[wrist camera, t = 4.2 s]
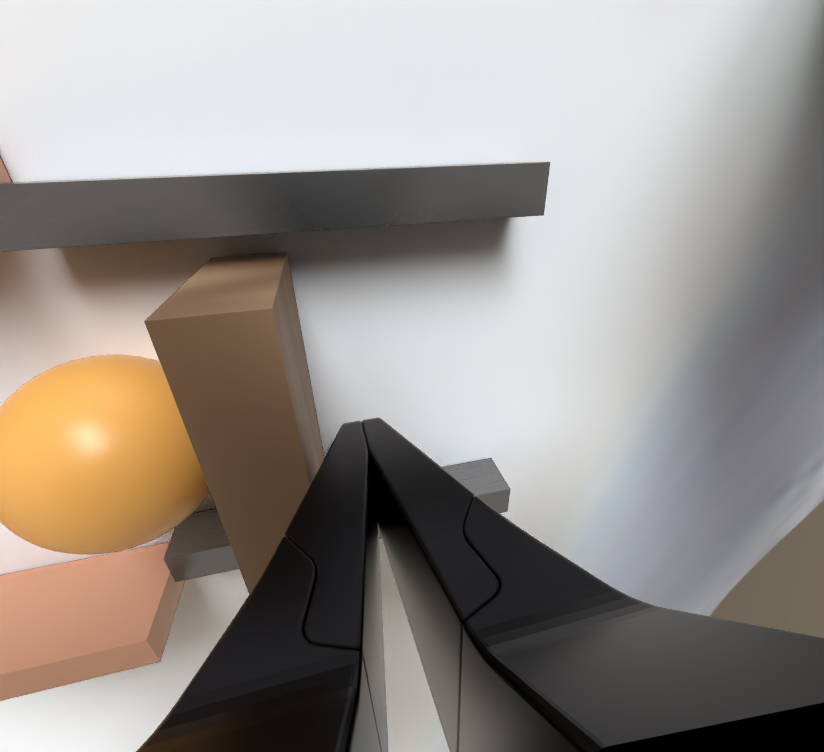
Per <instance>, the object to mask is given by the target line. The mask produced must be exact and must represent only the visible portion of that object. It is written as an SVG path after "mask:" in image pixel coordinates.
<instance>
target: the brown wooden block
mask: <svg viewBox="0 0 824 752" xmlns="http://www.w3.org/2000/svg"><path fill="white" fill-rule="evenodd" d="M144 322H145V324H146V327H147V329H148V332H149V335H150V337H151V340H152V342H153V345H154V348H155V350H156V353H157V355H158V358H159V361H160V363H161V366H162V368H163V371H164V374H165V376H166V379H167V381H168V384H169V387H170V389H171V392H172V394H173V397H174V400H175V402H176V405H177V407H178V410H179V413H180V415H181V418H182V420H183V423H184V425H185V428H186V431H187V433H188V436H189V438H190V441H191V444H192V446H193V449H194V451H195V454H196V457H197V459H198V462H199V464H200V467H201V470H202V472H203V475H204V477H205V480H206V483H207V485H208V488H209V490H210V493H211V496H212V498H213V501H214V503H215V506H216V509H217V511H218V514H219V516H220V519H221V522H222V524H223V527H224V529H225V532H226V535H227V537H228V540H229V542H230V545H231V548H232V550H233V553H234V555H235V558H236V560H237V563H238V566H239V568H240V571H241V573H242V576H243V579H244V581H245V584H246V586H247V589H248V592H249V594H250V593H251V592H252V590H253V589H254V587H255V585H256V584H257V582H258V581H259V579H260V577H261V575H262V574H263V572H264V570H265V569H266V567H267V565H268V563H269V562H270V560H271V558H272V556H273V554H274V553H275V551H276V549H277V547H278V545H279V543H280V541H281V539H282V538H283V537H284V534H285V532H286V530H287V528H288V526H289V524H290V523H291V521H292V519H293V517H294V515H295V513H296V511H297V509H298V507H299V506H300V504H301V502H302V500H303V498H304V496H305V494H306V492H307V490H308V489H309V487H310V485H311V483H312V481H313V479H314V477H315V475H316V473H317V472H318V470H319V468H320V466H321V464H322V462H323V460H324V454H323V448H322V443H321V437H320V432H319V426H318V421H317V415H316V410H315V404H314V399H313V393H312V388H311V382H310V377H309V371H308V366H307V360H306V355H305V349H304V344H303V338H302V333H301V327H300V322H299V316H298V311H297V305H296V300H295V294H294V289H293V283H292V278H291V272H290V267H289V261H288V256H287V252H284V253H271V254H257V255H244V256H231V257H218V258H211V259H210V260H208V261H207V262H206V263H205V264H204V265H203V266H202V267H201V268H200V269H199V270H198V271H197V272H196V273H195V274H194V275H193V276H192V277H191V278H189V279H188V280H187V281H186V282H185V283H184V284H183V285H182V286H181V287H180V288H179V289H178V290H177V291H176V292H175V293H174V294H173V295H172V296H171V297H169V298H168V299H167V300H166V301H165V302H164V303H163V304H162V305H161V306H160V307H159V308H158V309H157V310H156V311H155V312H154V313H153V314H152V315H151V316H149V317H148V318H147V319H146V320H145V321H144Z"/></svg>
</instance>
